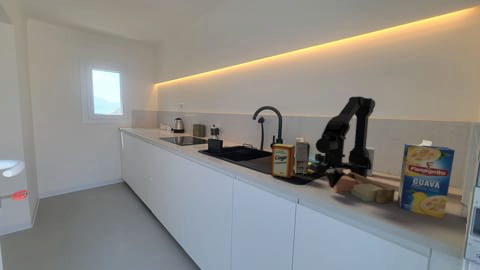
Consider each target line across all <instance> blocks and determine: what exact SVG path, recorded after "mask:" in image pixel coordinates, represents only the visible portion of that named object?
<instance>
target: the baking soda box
mask: <svg viewBox="0 0 480 270" xmlns="http://www.w3.org/2000/svg"><path fill="white" fill-rule="evenodd" d="M271 149H272V150H271V165H270V166H271V167H270V168H271V169H270V170H271V171H270V176H271V177H276V176H275V175H277V176H283V177H288V178H290V177H291V176H292V175H293V176H294V167H295V151H296V145H293V144H292V145H291V144H287V143H285V144H284V143H283V144H282V143H275V144H272V147H271ZM293 176H292V177H293ZM292 177H291V178H292ZM291 178H290V179H291Z"/></svg>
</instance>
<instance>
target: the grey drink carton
mask: <svg viewBox="0 0 480 270" xmlns="http://www.w3.org/2000/svg"><path fill="white" fill-rule="evenodd" d="M310 149H311V144H310V143H308V142H306V141H296V142H295V154H294V167H295V170H294V173H295V174H296V173H303V174H302V175H304V174H307V173H309V172H308V171H309V160H310V159H309V158H310ZM307 175H308V174H307Z"/></svg>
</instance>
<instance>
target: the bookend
mask: <svg viewBox="0 0 480 270" xmlns="http://www.w3.org/2000/svg"><path fill="white" fill-rule="evenodd" d="M343 176H348V177H350V178H352V179H354V174H349V173H346V174H345V175H343Z"/></svg>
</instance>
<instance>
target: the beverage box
mask: <svg viewBox="0 0 480 270" xmlns="http://www.w3.org/2000/svg"><path fill="white" fill-rule="evenodd" d="M455 151H456V150H454V149H452V148H449V147H447V146H434V145H432V146H424V145H419V144H412V143H411V144H410V143H404V149H403V157H402V165H401V171H400V179H399V188H398V194H397V200H396V201H397V204H398V207H399V209H400V210H405V211H410V212H414V213H418V214H421V215H427V216H431V217H435V218H440V219H443V218H445V212H446V208H447V207H446V206H447V199H448V194H449V189H450V182H451V177H452V176H451V175H452V170H453V165H454V164H453V163H454V157H455Z"/></svg>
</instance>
